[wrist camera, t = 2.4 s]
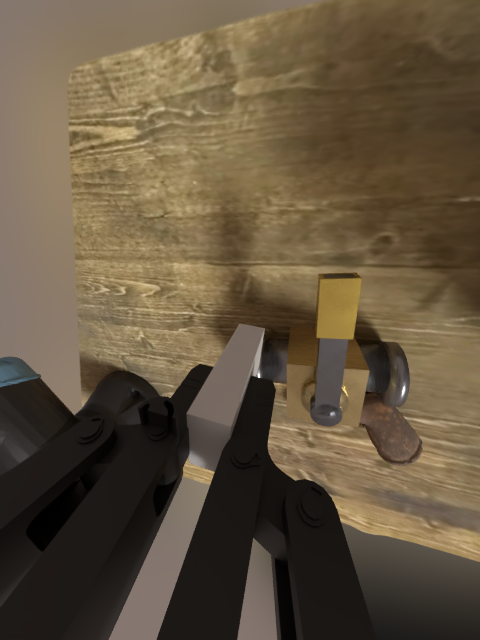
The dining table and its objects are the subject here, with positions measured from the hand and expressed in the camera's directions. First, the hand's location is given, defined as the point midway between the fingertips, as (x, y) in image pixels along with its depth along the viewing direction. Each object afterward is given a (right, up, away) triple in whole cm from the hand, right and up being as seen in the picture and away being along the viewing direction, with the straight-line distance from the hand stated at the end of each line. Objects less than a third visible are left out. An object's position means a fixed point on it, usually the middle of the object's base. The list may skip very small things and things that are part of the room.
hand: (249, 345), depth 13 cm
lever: (+8, -2, +7) cm, 11 cm away
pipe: (+18, -13, +22) cm, 31 cm away
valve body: (+11, -3, +19) cm, 22 cm away
